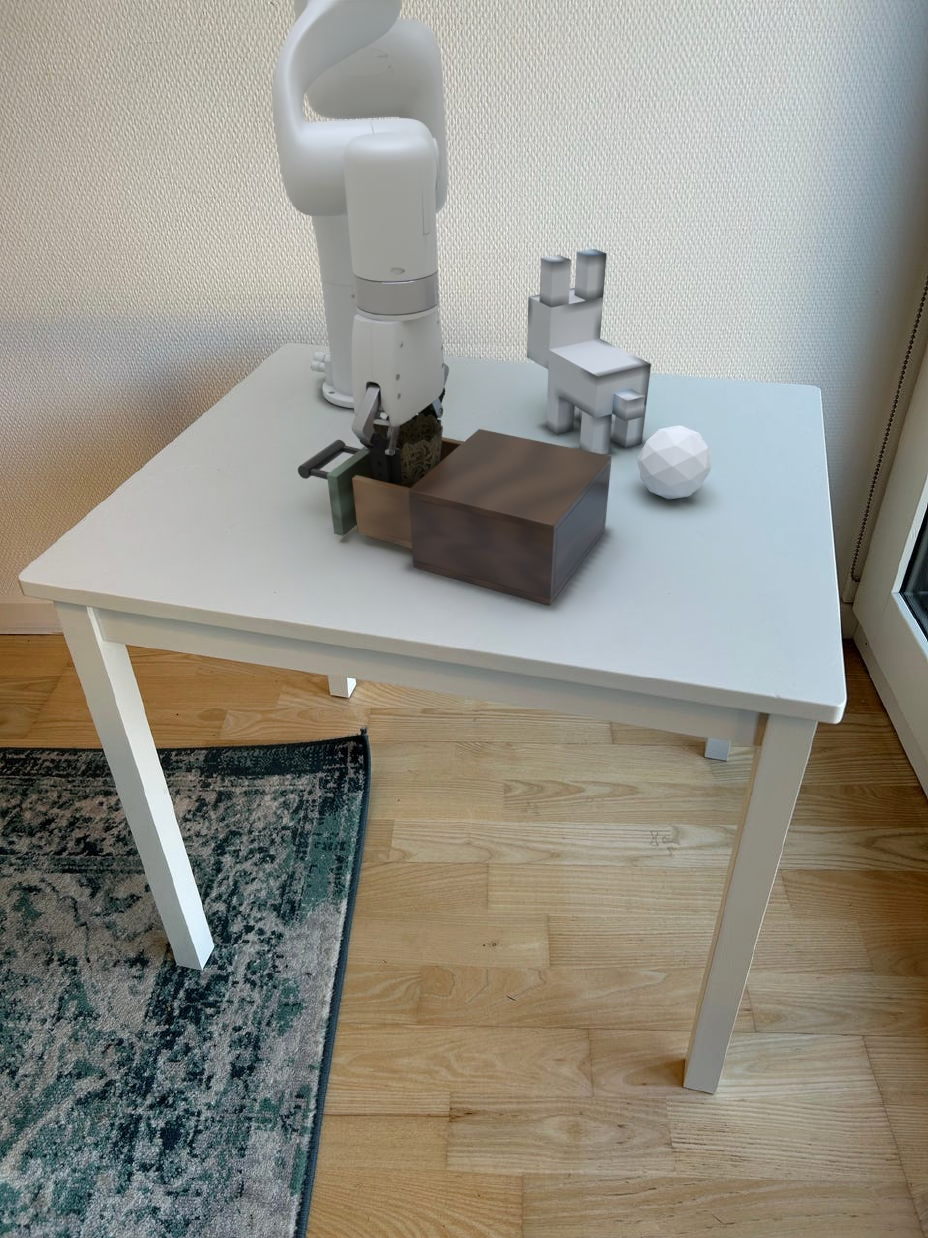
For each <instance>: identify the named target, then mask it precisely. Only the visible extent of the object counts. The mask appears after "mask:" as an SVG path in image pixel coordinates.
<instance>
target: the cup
mask: <svg viewBox="0 0 928 1238" xmlns="http://www.w3.org/2000/svg"><path fill="white" fill-rule="evenodd" d="M416 415H417V419H416V421H414V419H412V418H411V419H409V420H408V421H407V422H405V423H404V424H402V425H400V430H399V435H398V440H397V445H396V450H395V451H396V452H400V461H401V475H402V486H403V487H407V488H411V487H412V486H413V485H415V484H416V483H417V482H418V481H419V480H420V479H422V478H423V477H424V476H425V475H426V474H427V473H429V472H430V471H431V470H432V469H433V468H434V467H435V466H437V465H438V464H439V463H440V455H441V443H442V437H443V429H444V426H443V425H442V420H441V421H439V423H438V424H437V420H436V419H435V417H434V416H433V415H432V414H431V415H429V416H427V417H425V416H424V414H423V413H421V412H420V413H419V414H416ZM380 418H381V419H383V418H382V417H381V416H380ZM385 419H386V420H389V415H386V418H385ZM388 429H389V427H386V426H382V425H380V427H379V432H378V434H380V435H381V436H382V437H383V438H384V439H387V434H388Z"/></svg>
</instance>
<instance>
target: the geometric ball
mask: <svg viewBox="0 0 928 1238" xmlns="http://www.w3.org/2000/svg"><path fill="white" fill-rule="evenodd" d="M709 448H710V447H709V446H708V444H707V442H706V441H705V439H704V438H703V436H702V435H701V433H700V432H698V431H695V430H693V429H690V428H688V427H685V426H684V425H680V424H679V425H673V426H667V427H662V428H661V427H660V428H659V429H657V430H656V432H654V433H653V434H652V435H651V436H650V437H649V438H648V439H647V440H646V441H645V442H644V444H643V447H642V448H641V450H640V452H639V454H638V456H637V459H636V461H637V465H638V472H639V478H640V480H641V482H642V483H643V484H644V485H645V487H646V488H647V490H648V491H649V492H650V493H652V494H655V495H657V496H660V497H662V498H664V499H667V500H674V499H680V498H681V499H682V498H688V497H690V496H692V495H693V494H694V493H695V492H696V491H697V490H699V489H700V488H701V487H702V486H703V484H704V483H705V481H706V479H707V477H708V476H709V473H710V472H711V470H712V468H713V464H712V460H711V454H710V449H709Z"/></svg>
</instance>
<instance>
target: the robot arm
mask: <svg viewBox="0 0 928 1238" xmlns="http://www.w3.org/2000/svg"><path fill="white" fill-rule="evenodd" d="M402 4H403V0H293V7H294V8H293V9H294V16H295V22H294V24H293V25H292V27H291V29H289V32H288V33H287V35H286V37H285V39H284V41H283V43H282V45H281V49H280V50H279V53H278V55H277V60H276V62H275V67H274V71H273V72H274V73H273V76H272V87H271V105H272V115H273V116H272V117H273V123H274V131H275V137H276V144H277V145H276V146H277V152H278V159H279V165H280V166H279V167H280V172H281V177H282V182H283V186H284V190H285V192H286V195H287V198H288V200H289V201H290V203H291V205H292V206H293V207H294V208H295V209H296V210H297V211H298V212H300V213H302V214H304V215H305V216H310V217H311V221H312V225H313V226H312V227H313V231H314V235H315V242H316V249H317V254H318V262H319V271H320V280H321V288H322V296H323V297H322V298H323V305H324V314H325V322H326V323H325V324H326V330H327V331H326V332H327V340H328V349H329V350H328V351H329V353H328V352H322V351H319V350H318V351H317V350H316V351H315V352H314V354H313V357H312V361H311V363H310V370H312V371H314V372H317V373H324V374H325V381H324V382H323V384H322V387H321V388H322V395H323V397H324V399H326V401H328V402H329V403H331V404H333V405H336V406H339V407H343V408H348V409H353V411H354V416H355V417H354V419H353V422H352V424H351V431H352V433H353V434H354V435H355V436H356V437H357V439H358V440H359V442H360V444H361V445H362V446H363V447H365V449H366V450H367V451H369V456H370V467H371V478H372V479H374V480H378V481H382V482H387V483H391V484H395V485H399V486H402V475H401V461H400V452H396V451H395V450H396V445H397V440H398V435H399V430H400V425H402V424H404V423H405V422H407V421H408V420H409V419H414V421H416V419H417V415H418V414H419V413H420V412H421V413H423V414H424V416H425V417H427V416H429V415H431V414H432V415H433V416H434V417H435V419H436V420H437V424H438V423H439V421H441V422H442V419H441V418H442V417H443V415H444V408H443V405H442V403H443V400H444V397H445V395H446V384H447V380H448V376H449V373H450V368H449V366H448V365H447V364H446V363H445V355H444V342H443V331H442V325H441V324H442V323H441V317H440V310H439V309H440V293H439V292H440V289H439V287H440V286H439V264H438V263H439V262H438V261H439V260H438V233H437V214H438V213H439V212H440V211H442V210H443V208H444V207H445V204H446V201H447V199H448V198H447V197H448V192H449V191H448V190H449V169H448V167H449V166H448V147H447V128H446V108H445V88H444V73H443V62H442V55H441V51H440V46H439V43H438V40H437V37H436V35H435V33H434V31H433V29H432V28H431V27H430V26H429V25H428V24H426V23H425V22H423V21H421V20H418V19H414V18H399V17H400V14H401V10H402V6H403V5H402ZM305 95H306V98H307V102H308V104H309V106H310V107H311V109H312V111H313V112H315V114H317V115H319V116H320V117H322V118H325V119H326V118H327V119H332V120H324V121H323V120H321V121H308V120H306V117H305V112H304V98H305ZM382 413H384V414H385V415H386V416H388V415H389V420H386V418H382V417H381V414H382ZM380 417H381V418H382V419H381V418H380ZM380 425H382V426H386V427H389V429H388V434H387V439H384V438H383V437H382V436H381V435H380V434H378V432H379V427H380ZM441 454H442V443H441Z"/></svg>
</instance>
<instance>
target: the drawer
mask: <svg viewBox="0 0 928 1238" xmlns="http://www.w3.org/2000/svg"><path fill="white" fill-rule="evenodd" d="M464 441H465V440H464ZM464 441H463V440H459V439H454V438H450V437H444V436H442V454H441V455H440V462H441V461H442V460H444V459H445V458H446V457H447V456H448V455H449V454H451V453H452V452H453V451H454V450H455V449H456V448H457V447H459V446H460V445H461V444H462V443H463V442H464ZM344 453H345V454H348V455H349V454H350V455H351V456H350V457H348V458H347V459H346V460H345V461H343V462H342V463H340V464H339V465H337V467H335V468H334V469H333V470H331V471H325V470H322V469H323V468H324V467H326V466H327V465H328V464H330V463H331V462H332V461H334V460H335V459H337V458H338V457H339V456H340V455H342V454H344ZM297 474H298V475H299V477H301V479H306V480H307V479H309V478H310V477H314V478H315V477H316V478H319V479H323V480H327V487H328V495H329V503H330V511H331V518H332V527H333V533H334V534H335V535H338V536H341V537H345V536H346V535H347V534H348V533H350V531H352V530H353V529H354V528H356V527H357V533H358V534H359V535H363V536H366V537H369V538H373V539H376V540H377V539H378V540H381V541H384V542H388V543H392V544H395V545H398V546H403V547H407V548H410V549H412V540H411V525H410V509H409V493H408V490H409V489H410V488H407V487H403V486H399V485H395V484H391V483H387V482H382V481H378V480H374V479H372V478H371V467H370V456H369V451H367V450H366V449H365V446H363V447H362V448H358V447H353V446H349V445H346V443H345V441H343V440H342V439H336V440H335V441H332V443H330V444H329V445H327V446H326V447H324V448H323V449H322V450H320V451H319V452H317V453H316V454H314V455H312V456H311V457H310V458H309V459H307V460H306V461H305V462H303V463H302V464H300V465H299V466H298V468H297Z"/></svg>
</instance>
